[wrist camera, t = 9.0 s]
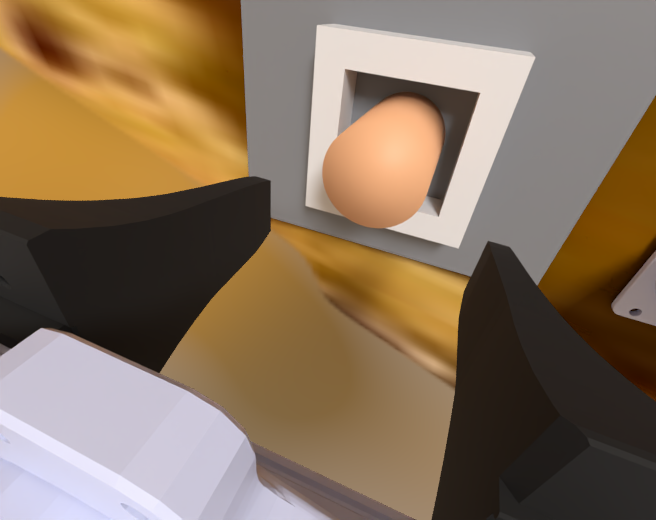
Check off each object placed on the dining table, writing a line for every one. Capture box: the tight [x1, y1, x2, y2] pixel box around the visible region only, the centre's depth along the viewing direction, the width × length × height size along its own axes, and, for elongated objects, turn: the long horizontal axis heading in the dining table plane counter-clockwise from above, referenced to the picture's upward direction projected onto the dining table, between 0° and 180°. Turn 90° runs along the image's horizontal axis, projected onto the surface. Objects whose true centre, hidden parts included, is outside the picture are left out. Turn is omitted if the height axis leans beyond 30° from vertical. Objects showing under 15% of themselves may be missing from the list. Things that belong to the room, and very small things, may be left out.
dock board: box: [241, 0, 656, 285], centre depth 17 cm, size 18×14×3 cm
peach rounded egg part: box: [322, 92, 446, 228], centre depth 15 cm, size 4×4×6 cm
